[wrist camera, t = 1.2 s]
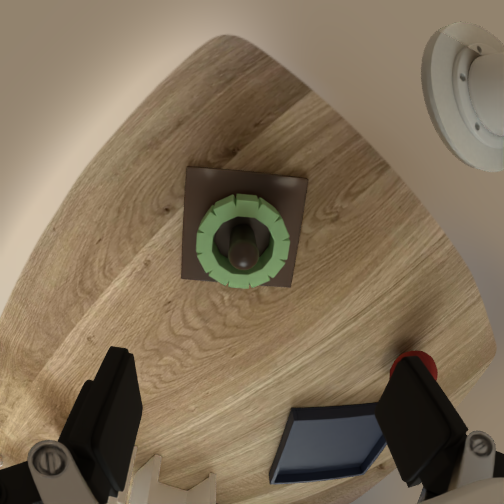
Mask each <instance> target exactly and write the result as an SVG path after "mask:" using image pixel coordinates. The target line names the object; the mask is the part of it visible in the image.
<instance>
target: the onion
mask: <svg viewBox="0 0 504 504" xmlns="http://www.w3.org/2000/svg"><path fill="white" fill-rule="evenodd" d="M406 356H418V357H419V358H420V359H421V360H422V362H423V363H424V365H425V366H426V367H427V369H428V370H429V372H430V373H431V374H432V376H433V377H434V379H435V380H436V381H437V374H438V372H437V367H436V365H435V362H434V360H433V358H432V357H431V356H429V355H428V354H426V353H425V352H423V351H408V352H404V353H403V354H401V355H400V356H399V357H398V358H397V359H396V360H395V361H394V363H393V365H392V367H391V369H390V378H391V376H392V373H393V371H394V369H395V367H396V365H397V363H398V362H399V361H400V360H401V359H402V358H403V357H406ZM390 378H389V380H390Z"/></svg>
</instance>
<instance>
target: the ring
mask: <svg viewBox="0 0 504 504" xmlns="http://www.w3.org/2000/svg"><path fill="white" fill-rule="evenodd" d="M237 216H240V217H251V218H256V219H257V220H258V221H260V222H261V223H263V224H264V225H266V226H267V227H268V229H269V231H270V241H269V246H268V248H267V249H266V250H265V251H264V253H263V254H262V255H261V257H259V259H258V262H257V263H256V265H255V266H254V267H252V268H251V269H248V270H239V269H236V268H235V267H233V266H232V264H231V263H230V261H229V259H228V258H226V257H225V256H223V255H222V254H220V252H219V250H218V248H217V246H216V244H215V242H214V236H215V233H216V231H217V230H218V229H219V227H220V226H221V225H222V223H224V222H226V221H228V220H230V219H233V218H235V217H237ZM289 237H290V236H289V233H288V231H287V229H286V226H285V224H284V221H283V219H282V217H281V215H280V214H279V212H278V211H277V210H276V208H275V207H273V206H272V205H271V204H269V203H268V202H267V201H265V200H264V199H262V198H261V197H260V198H259V199H258V198H257V196H256V195H246V194H237V196H236V199H235V196H234V195H230V196H228V197H226V198H224V199H222V200H219V201H217V202H216V203H215V206H214V205H212V206H211V207H210V209H209V210H208V212H207V213H206V214H205V216H204V217H203V219H202V220H201V223H200V226H199V228H198V231H197V239H196V252H198V253H197V257H198V259H199V261H200V263H201V265H202V267H203V268H204V270H205V272H206V273H207V272H209V276H210V277H212V278H213V279H215V280H216V281H218V282H220V283H221V284H223V285H224V286H226V284H227V283H228V282H229V284H228V286H229V287H233V288H246V289H248V288H249V283H250V285H251V287H252V288H253V287H256V286H258V285H261V284H263V283H265V282H268V281H270V277H272V278H274V277H275V276H276V274H277V273H278V272H279V271H280V269H281V268H282V267H283V266H284V265H285V261H284V260H287V258H288V252H289V246H290V240H289ZM269 276H270V277H269Z"/></svg>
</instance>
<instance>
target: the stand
mask: <svg viewBox="0 0 504 504" xmlns="http://www.w3.org/2000/svg"><path fill="white" fill-rule="evenodd" d="M307 186H308V179H307V178H301V177H293V176H285V175H277V174H269V173H260V172H250V171H240V170H230V169H218V168H206V167H192V166H188V167H187V171H186V184H185V200H184V217H183V239H182V272H181V278H182V279H189V280H200V281H211V282H218V281H216V280H215V279H213V278H212V277H210V276H209V272H207V273H206V272H205V270H204V268H203V267H202V265H201V263H200V261H199V259H198V257H197V253H198V252H196V239H197V231H198V228H199V226H200V223H201V220H202V219H203V217H204V216H205V214H206V213H207V212H208V210H209V209H210V207H211V206H212V205H214V206H215V203H216V202H217V201H219V200H222V199H224V198H226V197H228V196H230V195H234V196H235V199H236V196H237V194H246V195H256V196H257V198H258V199H259V198H260V197H261V198H262V199H264V200H265V201H267V202H268V203H269V204H271V205H272V206H273V207H275V208H276V210H277V211H278V212H279V214H280V215H281V217H282V219H283V221H284V224H285V226H286V229H287V231H288V233H289V236H290V237H289V240H290V246H289V252H288V258H287V260H284V261H285V265H284V266H283V267H282V268H281V269H280V271H279V272H278V273H277V274H276V276H275V277H274V278H272V277H270V276H269V277H270V281H268V282H265V283H263V284H261V286H274V287H289V288H290V287H291V282H292V277H293V271H294V266H295V260H296V254H297V248H298V243H299V237H300V231H301V224H302V218H303V212H304V206H305V199H306V193H307ZM269 241H270V231H269V229H268V227H267V226H266V225H264V224H263V223H261V222H260V221H258V220H257V219H256V218H251V217H240V216H237V217H235V218H233V219H230V220H228V221H226V222H224V223H222V225H221V226H220V227H219V229H218V230H217V231H216V233H215V236H214V242H215V244H216V246H217V248H218V250H219V252H220V254H222V255H223V256H225V257H226V258H228V259H229V261H230V263H231V264H232V266H233V267H235V268H236V269H239V270H248V269H251V268H252V267H254V266H255V265H256V263H257V262H258V259H259V257H261V255H262V254H263V253H264V251H265V250H266V249H267V248H268V246H269ZM228 283H229V282H228ZM249 285H250V283H249Z"/></svg>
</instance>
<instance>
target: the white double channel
mask: <svg viewBox="0 0 504 504" xmlns="http://www.w3.org/2000/svg"><path fill="white" fill-rule="evenodd" d="M136 452H137V446H134V449H133V453H132V457H131V462H130V466H129V470H128V475H127V479H126V484H125V488H124V491H123V492H121V491H119V492H118V497H117V498H115V497H111V496H109V498H108V502H107V503H106V504H125V503H126V498H127V493H128V488H129V483H130V479H131V474H132V469H133V465H134V460H135V456H136ZM161 459H162V456H159V455H157V454H155V455H154V456H153V457H152V458H151V459H150V460H149V461H148V462H147V463H146V464H145V465H144V466H143V467H141V468H140V469H139V470H138V471H137V472H136V473H135V474H134V479H133V484H132V489H131V494H130V499H129V504H216V474H214V473H209V477H208V478H207V479H205V480H204V481H202V482H201V483H199V484H198V485H196V486H195V487H193V488H191V489H190V490H188V491H186V490H182V489H179V488H176V487H173V486H169V485H166V484H163V483H160V482H158V478H159V472H160V465H161Z"/></svg>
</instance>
